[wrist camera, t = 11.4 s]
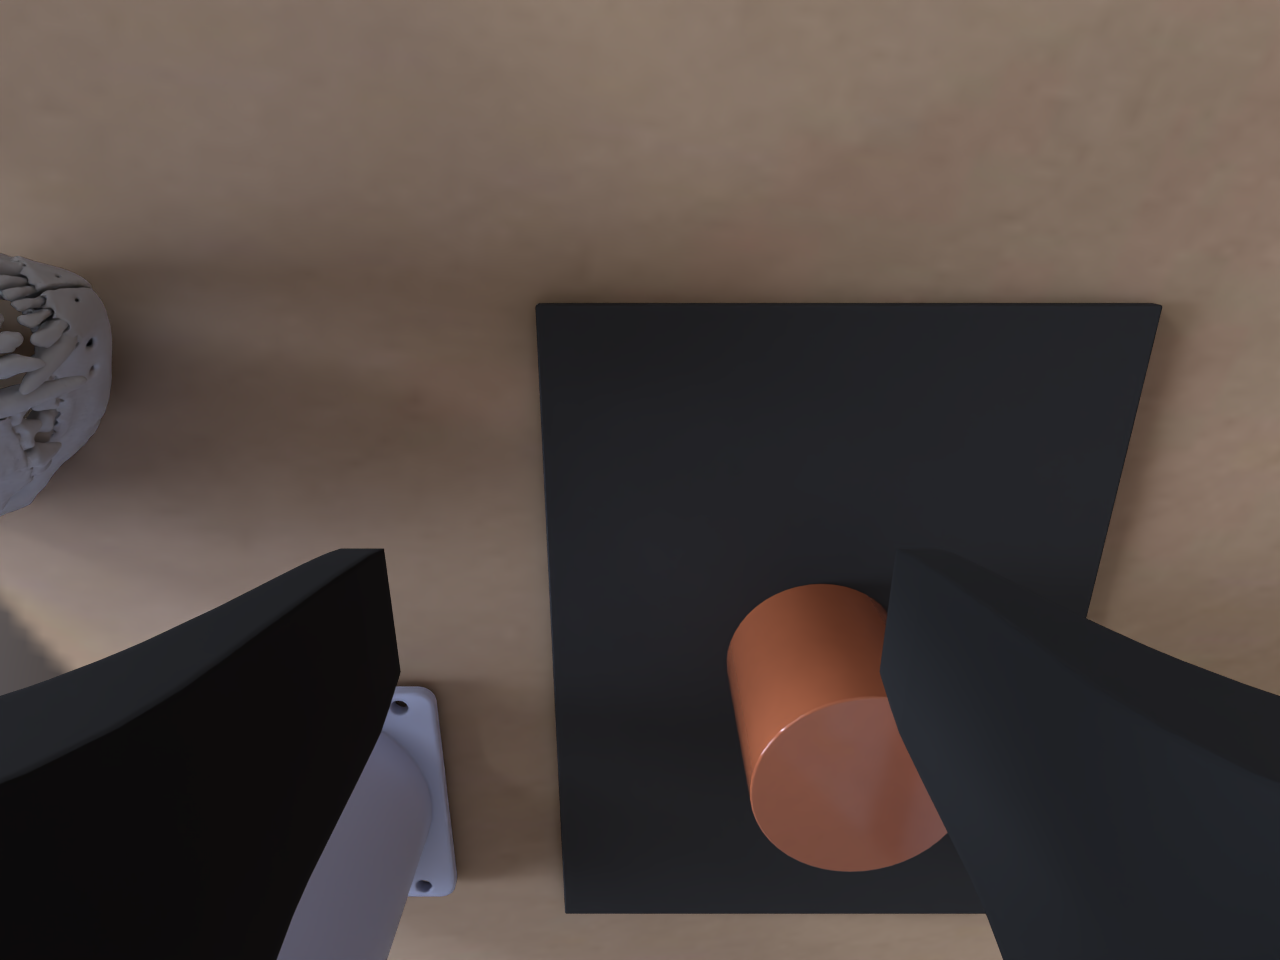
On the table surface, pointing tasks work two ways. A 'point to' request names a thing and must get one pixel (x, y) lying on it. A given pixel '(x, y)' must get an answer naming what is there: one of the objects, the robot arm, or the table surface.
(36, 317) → the skull
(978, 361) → the mat
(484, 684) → the table surface
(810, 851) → the copper cylinder
